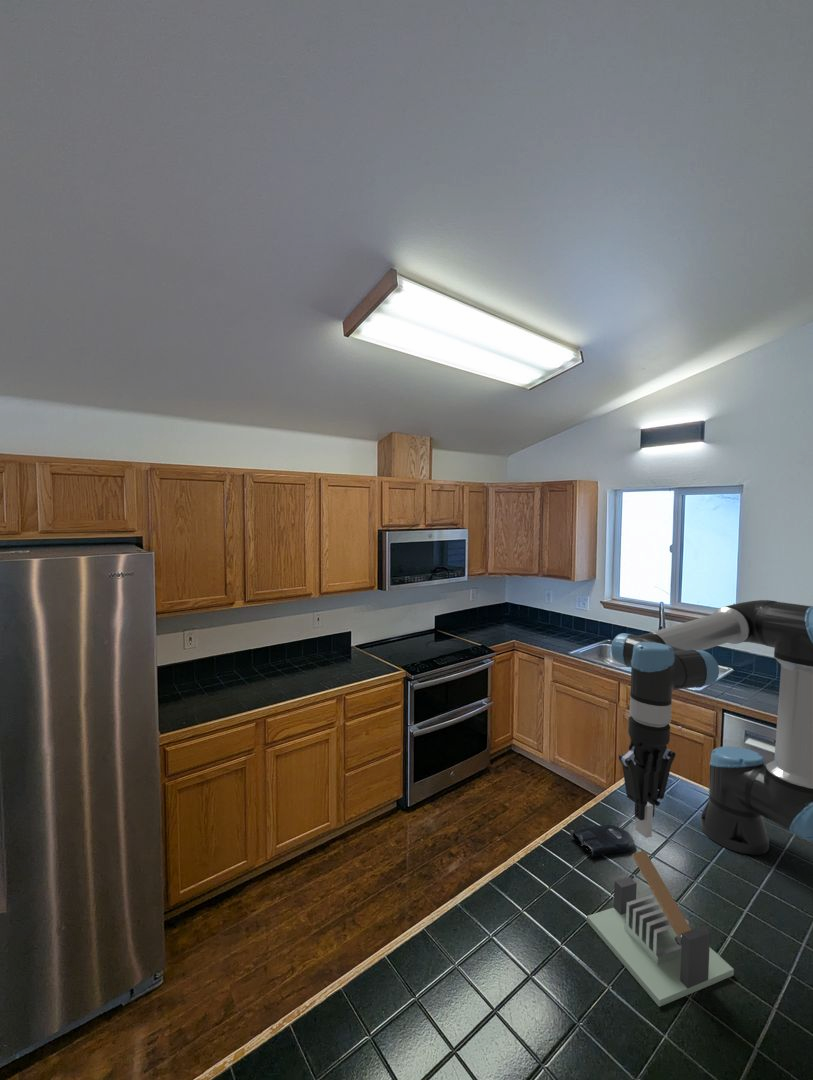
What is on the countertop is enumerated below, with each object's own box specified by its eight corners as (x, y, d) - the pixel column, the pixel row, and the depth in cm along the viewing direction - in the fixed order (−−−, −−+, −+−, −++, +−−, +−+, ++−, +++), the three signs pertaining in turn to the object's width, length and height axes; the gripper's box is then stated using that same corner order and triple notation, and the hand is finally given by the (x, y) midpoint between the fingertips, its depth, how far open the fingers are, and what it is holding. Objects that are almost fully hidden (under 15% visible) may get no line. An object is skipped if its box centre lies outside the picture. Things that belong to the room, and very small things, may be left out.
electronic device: (594, 870, 114) (643, 849, 118) (590, 847, 114) (639, 827, 118) (571, 849, 123) (616, 831, 127) (567, 828, 123) (613, 810, 127)
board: (653, 900, 103) (654, 856, 102) (733, 975, 86) (735, 923, 85) (586, 921, 97) (588, 875, 96) (659, 1006, 80) (661, 951, 79)
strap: (645, 851, 96) (648, 849, 96) (696, 939, 85) (699, 937, 85) (628, 856, 95) (631, 853, 94) (678, 946, 84) (681, 944, 83)
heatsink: (654, 919, 96) (655, 891, 96) (689, 953, 89) (690, 923, 88) (624, 929, 94) (625, 901, 93) (657, 965, 86) (658, 934, 86)
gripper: (658, 709, 100) (652, 816, 101) (610, 715, 96) (604, 827, 96) (689, 724, 93) (683, 839, 93) (639, 731, 89) (633, 851, 89)
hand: (643, 832), depth 95 cm, fingers closed
